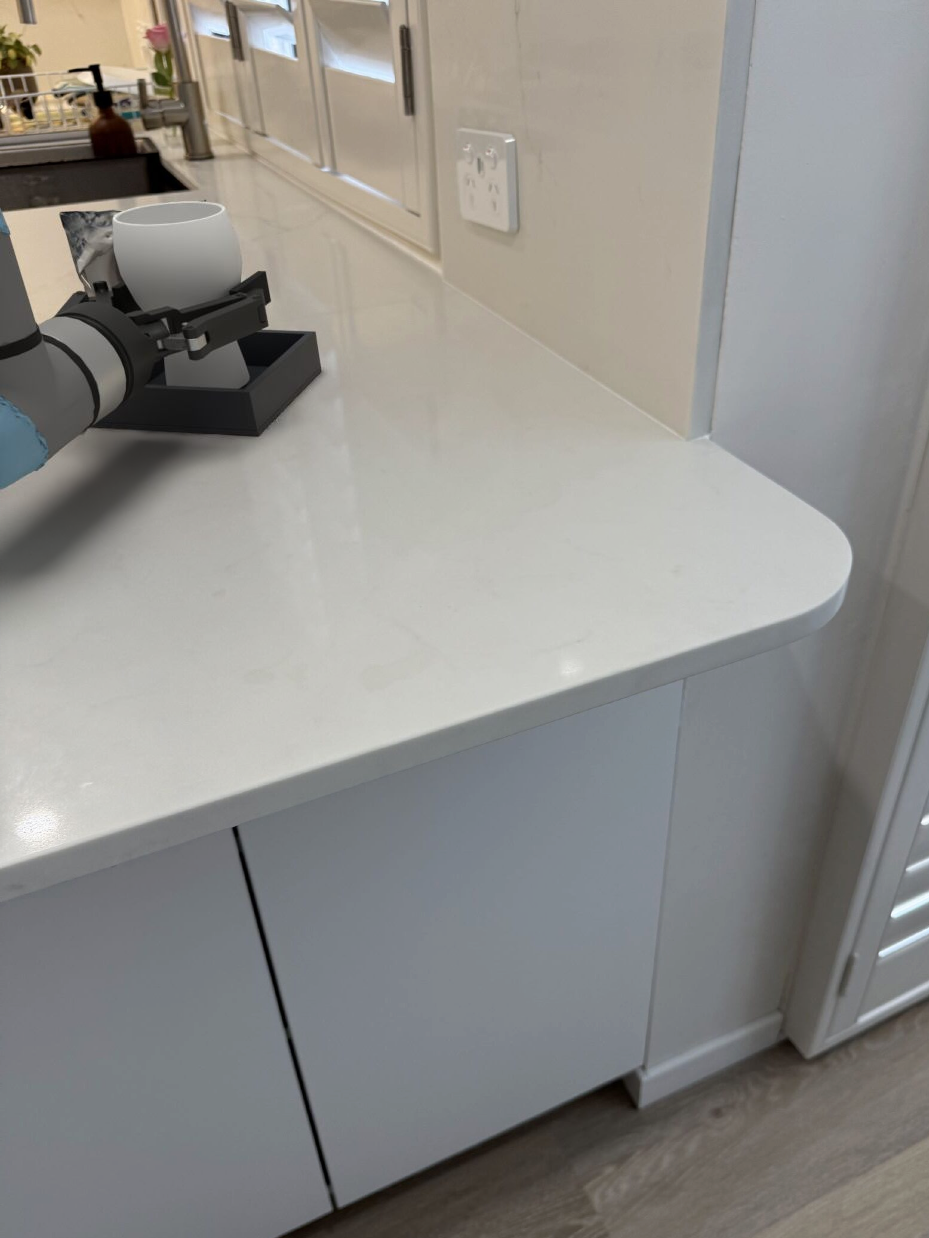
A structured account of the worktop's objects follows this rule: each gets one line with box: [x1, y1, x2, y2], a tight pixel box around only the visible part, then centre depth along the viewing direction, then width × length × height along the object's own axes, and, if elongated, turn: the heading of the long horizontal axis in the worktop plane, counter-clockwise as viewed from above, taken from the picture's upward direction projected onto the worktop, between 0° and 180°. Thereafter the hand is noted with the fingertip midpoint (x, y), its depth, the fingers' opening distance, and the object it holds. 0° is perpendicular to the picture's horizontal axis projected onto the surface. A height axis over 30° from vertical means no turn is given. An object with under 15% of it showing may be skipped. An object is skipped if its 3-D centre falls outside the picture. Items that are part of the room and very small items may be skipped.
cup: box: [112, 200, 250, 389], centre depth 86 cm, size 11×11×15 cm
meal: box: [58, 198, 207, 312], centre depth 104 cm, size 15×4×13 cm, turn 115°
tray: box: [90, 329, 322, 437], centre depth 90 cm, size 17×17×4 cm
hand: (208, 284), depth 89 cm, fingers closed on cup, 11 cm apart
